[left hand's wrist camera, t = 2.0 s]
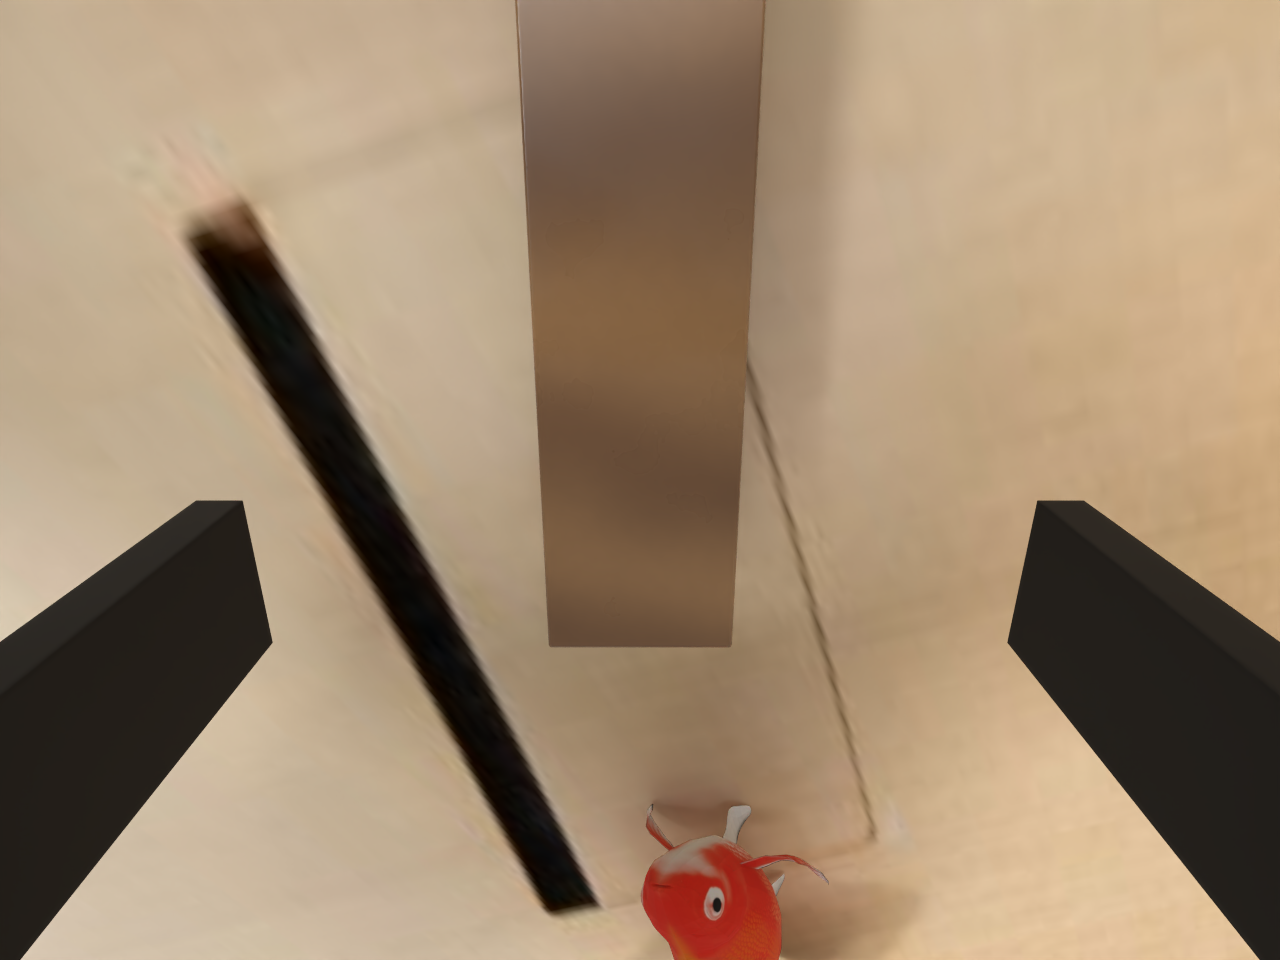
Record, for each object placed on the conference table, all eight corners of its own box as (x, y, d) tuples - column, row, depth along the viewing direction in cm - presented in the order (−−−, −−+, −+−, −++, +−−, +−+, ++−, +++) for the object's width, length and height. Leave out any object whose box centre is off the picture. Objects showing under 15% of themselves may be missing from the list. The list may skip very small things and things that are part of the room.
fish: (921, 782, 26) (916, 1164, 20) (907, 899, 37) (902, 1165, 31) (626, 735, 29) (544, 1047, 23) (695, 855, 41) (652, 1087, 34)
